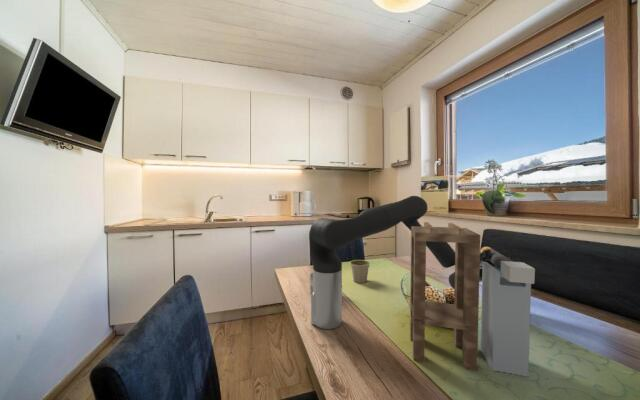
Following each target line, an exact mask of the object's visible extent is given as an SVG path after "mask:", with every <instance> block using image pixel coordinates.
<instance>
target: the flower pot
mask: <svg viewBox="0 0 640 400" xmlns="http://www.w3.org/2000/svg"><path fill="white" fill-rule="evenodd" d="M349 264H350V267H351V273H352V280H353V281H352V282H354V283H357V284H365V283H367V281H368V274H369V268H370V266H371V262H370V261H368V260H364V259H353V260H351V261H349Z"/></svg>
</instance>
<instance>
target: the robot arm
mask: <svg viewBox="0 0 640 400" xmlns="http://www.w3.org/2000/svg"><path fill="white" fill-rule="evenodd" d="M428 209H429V208H428V203H427V201H426V200H425V199H424V198H423V197H421V196H419V195H411V196H408V197H406V198H403V199H401V200H399V201H395V202H389V203H387V204H382V205H378V206H373V207H368V208H366V209H363V210H362V211H361V212H360V213H359V214H358V215H357V216H355V217H352V218H347V219H346V218H345V219H332V218H327V217H321V218H320V217H319V218H317V219H315V220H314V221H313V223H312V224H311V226H310V229H309V255H310V260H311V263H312V273H313V293H312V294H311V293H310V295H311V296H310V315H311V317H310V320H311V322H310V323H311V325H314V326H315V327H317V328H319V329H324V330H332V329H336V328H338V327H340V326H341V325H342V322H343V314H342V313H343V278H342V277H343V274H342V273H343V267H342V265H343V263H342V260H341V258H340V257H339V256H338V255H337V253H336V250H338V249H341V248H343V247H345V246H347V245H349V244H351V243H353V242H355V241H357V240H359V239H363V238H366V237H369V236H373V235H376V234H379V233H382V232H384V231H388V230H389V229H391V228H393V227H395V226H396V225H398V224H400V223H402V224H403V225H404V226H405V227H406V228H407V229H409V231H411V226H422V225H421V223H420V222H419V221H418V220H419V219H421V218H422V217H423V216H425V215H426V214H427V211H428ZM426 248H427V249H428V250H429V251H430V252H431V253H432V255H433V256H434V257H435V259H436V260H437V262H438V263H439V264H440V265H441V266H442V267H443V269H444V268H445V269H448V268H451V267H453V266H454V267H455V250H454V249H453V248H452V246H451V245H450V244H449V242H433V241H426ZM499 253H500V254H502V255H504V256H505V257H507V258H509V259H510V260H511V257H510V255H509V254H510V253H509V252H508V251H507V250H505V249H504V250H503V249H502V250H501V251H500V252H499ZM490 258H491V251H490V250H489V249H487V250H485V251H483V252H481V253H480V271H479V283H482V268H483V262H487V263H489V264H490V265H491V266H493V267H494V268H495V269H499V268H498V267H497V266H495V265H494V264H493V263H491V262H490V261H488V260H489V259H490ZM448 284H449V285H450V287H451V288H452V289H453V290H455V271H453V272H452V273H450V274H449V275H448Z"/></svg>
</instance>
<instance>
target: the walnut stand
mask: <svg viewBox="0 0 640 400" xmlns="http://www.w3.org/2000/svg"><path fill="white" fill-rule="evenodd" d="M447 224H448V225H447V227H446V226H445V227H444V226H433V225H432V224H431V223H429V222H428V221H427V222H423V225H421V226H411V230H410V291H409V292H410V294H409V295H410V301H409V302H410V309H409V317H410V318H409V337H410V341H412V358H413V361H415V362H416V361H417V362H422V363H425V348H426V347H425V345H426V344H425V341H426V339H425V337H426V332H425V331H426V326H432V327H439V328H447V329H448V328H449V329H453V344H454V343H455V344H454V346H455V347H456V348H460V349H462V351H461V352H462V359H461V361H462V362H461V363H462V365H463V364H464V365H463V368H464V369H465V368H466V369H465V370H469V369H472V370H471V371H474V370H476V372H477V371H478V357H479V355H478V352H479V351H478V350H479V349H478V348H479V347H478V346H479V345H478V344H479V312H480V310H479V309H480V308H479V305H480V302H479V301H480V282H479V271H480V251H481V235H480V234H479V233H477V232H475V231H473V230H471V229H469V228H467V227H460V226H459V225H457V224H454V223H453V222H447ZM426 241H433V242H447V243H455V246H454V247H455V250H454V251H455V265H454V272H455V289H454V302H453V303H447V302H444V303H443V302H437V301H436V302H434V301H429V300H428V301H427V300H426V278H427V277H426V274H427V273H426V272H427V271H426V269H427V268H426V266H427V264H426V263H427V260H426V259H427V246H426Z"/></svg>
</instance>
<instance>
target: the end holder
mask: <svg viewBox="0 0 640 400" xmlns="http://www.w3.org/2000/svg"><path fill="white" fill-rule="evenodd" d="M531 297H532V284H530V283H518V282H509V281H508V280H507V279H505V278H504V277H503V276H502V275H500V272H499V271H498V270H497V269H495V268H494V267H493V266H491V265H490V264H489V263H487V262H483V268H482V282H481V311H480V312H481V319H480V321H481V322H480V351H481V353H482V355H483V357H484V356H485V357H484V359H485V360H486V362H487V363H488V366H489V367H490V369H491V370H492V372H497V371H500V372H499V373H503V372H506V373H505V374H509V373H512V374H511V375H515V374H518V375H517V376H521V375H522V376H521V377H527V378H528V377H529V361H530V360H529V357H530V335H531V334H530V331H531V330H530V328H531V327H530V326H531V303H532V302H531V300H532V299H531Z"/></svg>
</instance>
